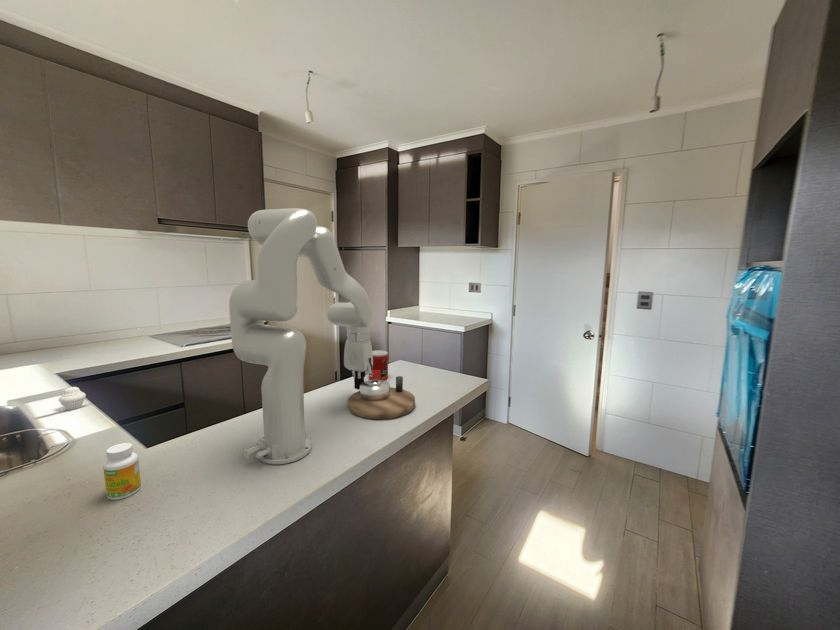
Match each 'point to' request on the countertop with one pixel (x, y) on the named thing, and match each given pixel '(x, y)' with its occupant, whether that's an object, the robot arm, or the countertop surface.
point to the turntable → (384, 403)
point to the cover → (374, 390)
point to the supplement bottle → (121, 471)
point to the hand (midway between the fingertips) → (359, 387)
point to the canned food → (379, 365)
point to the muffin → (72, 398)
